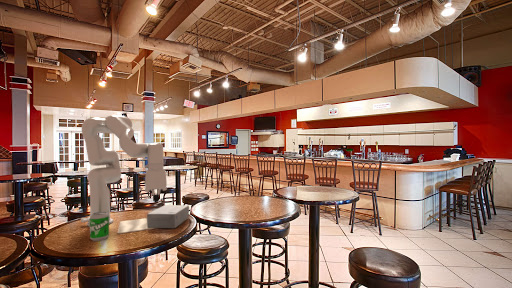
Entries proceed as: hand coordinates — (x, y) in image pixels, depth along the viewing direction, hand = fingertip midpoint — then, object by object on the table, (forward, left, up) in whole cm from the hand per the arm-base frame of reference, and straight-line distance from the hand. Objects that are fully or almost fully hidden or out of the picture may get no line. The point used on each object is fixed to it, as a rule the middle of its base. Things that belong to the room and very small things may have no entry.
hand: (156, 202), depth 128 cm
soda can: (-25, -1, -14) cm, 29 cm away
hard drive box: (+2, -1, -10) cm, 10 cm away
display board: (-4, +13, -14) cm, 20 cm away
